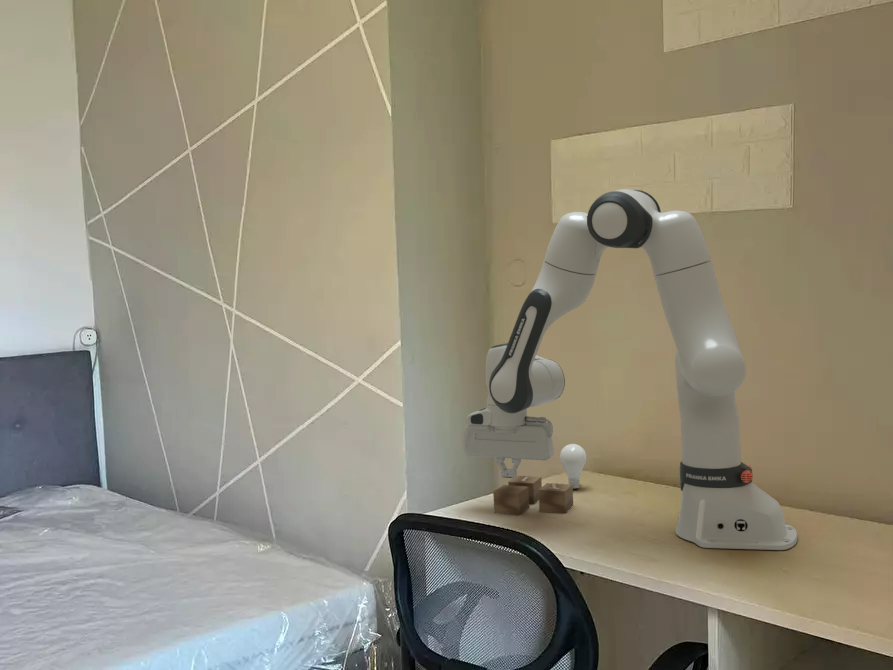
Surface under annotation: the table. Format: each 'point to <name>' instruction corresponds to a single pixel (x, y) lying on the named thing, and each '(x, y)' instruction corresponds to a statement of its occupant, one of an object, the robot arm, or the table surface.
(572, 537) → the table surface
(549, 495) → the numbered block 7
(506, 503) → the plain block
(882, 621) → the table surface
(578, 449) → the lightbulb
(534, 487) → the numbered block 1
